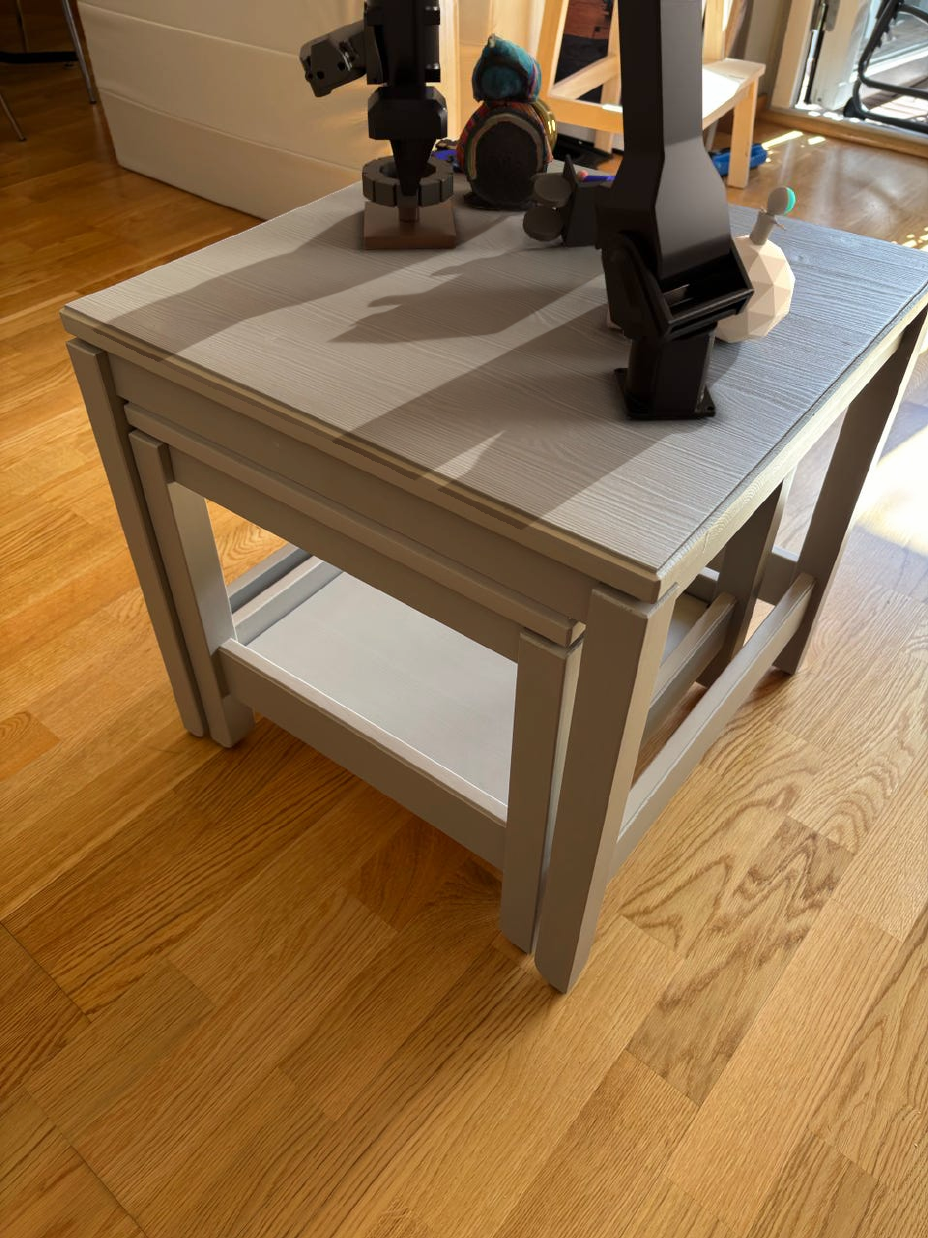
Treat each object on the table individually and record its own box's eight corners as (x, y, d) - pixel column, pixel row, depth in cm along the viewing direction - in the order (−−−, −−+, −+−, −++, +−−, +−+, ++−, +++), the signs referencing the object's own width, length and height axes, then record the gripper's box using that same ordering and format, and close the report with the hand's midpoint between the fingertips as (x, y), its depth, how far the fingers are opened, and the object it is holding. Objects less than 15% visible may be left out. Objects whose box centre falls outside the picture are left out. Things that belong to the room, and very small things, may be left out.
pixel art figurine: (466, 172, 103) (504, 138, 111) (466, 169, 103) (504, 135, 111) (415, 164, 105) (455, 130, 113) (415, 160, 105) (455, 127, 113)
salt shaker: (515, 190, 101) (531, 181, 110) (566, 133, 97) (579, 128, 106) (465, 136, 100) (486, 131, 108) (515, 76, 96) (532, 75, 104)
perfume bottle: (777, 370, 77) (863, 223, 69) (690, 352, 74) (770, 197, 66) (738, 322, 82) (813, 181, 74) (655, 303, 79) (724, 155, 71)
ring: (453, 208, 87) (454, 185, 86) (361, 208, 87) (359, 185, 85) (452, 175, 93) (452, 153, 92) (365, 175, 93) (364, 153, 92)
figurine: (555, 190, 100) (568, 24, 90) (544, 216, 95) (556, 44, 85) (462, 181, 102) (464, 17, 91) (446, 206, 97) (446, 36, 86)
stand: (456, 247, 90) (456, 178, 85) (364, 249, 89) (360, 180, 85) (451, 211, 96) (451, 145, 91) (365, 213, 95) (361, 146, 91)
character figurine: (515, 234, 93) (663, 225, 95) (532, 260, 87) (689, 250, 89) (518, 146, 88) (675, 139, 90) (537, 168, 82) (703, 160, 84)
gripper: (306, -37, 82) (322, 156, 93) (292, 17, 69) (313, 235, 80) (436, -37, 83) (438, 154, 94) (447, 17, 69) (448, 233, 80)
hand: (408, 191), depth 87 cm, fingers closed on ring, 2 cm apart
